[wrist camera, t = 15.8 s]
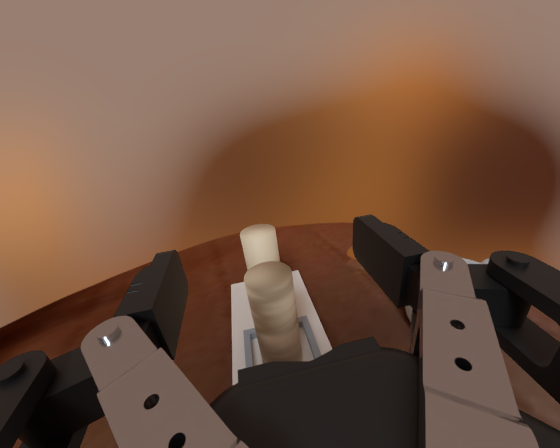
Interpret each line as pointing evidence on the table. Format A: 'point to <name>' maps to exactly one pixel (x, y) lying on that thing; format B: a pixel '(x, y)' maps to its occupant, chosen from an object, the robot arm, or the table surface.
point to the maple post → (274, 311)
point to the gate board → (245, 346)
